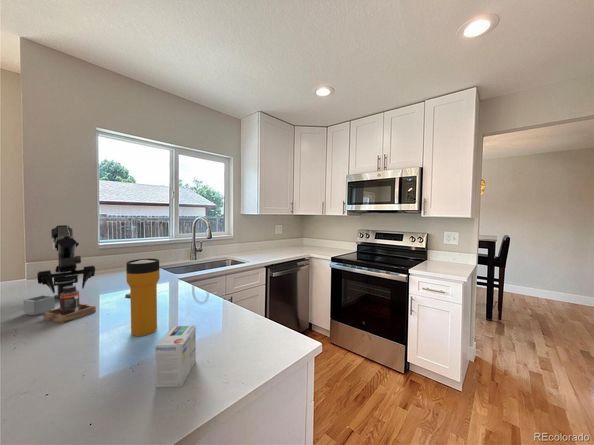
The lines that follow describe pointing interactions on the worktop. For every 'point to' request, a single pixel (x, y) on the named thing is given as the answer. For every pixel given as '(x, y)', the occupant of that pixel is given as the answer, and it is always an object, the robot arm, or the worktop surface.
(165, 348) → the light bulb box
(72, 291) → the supplement bottle
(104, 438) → the worktop surface
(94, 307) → the tray
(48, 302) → the grey open square bin
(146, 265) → the flashlight
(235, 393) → the worktop surface
